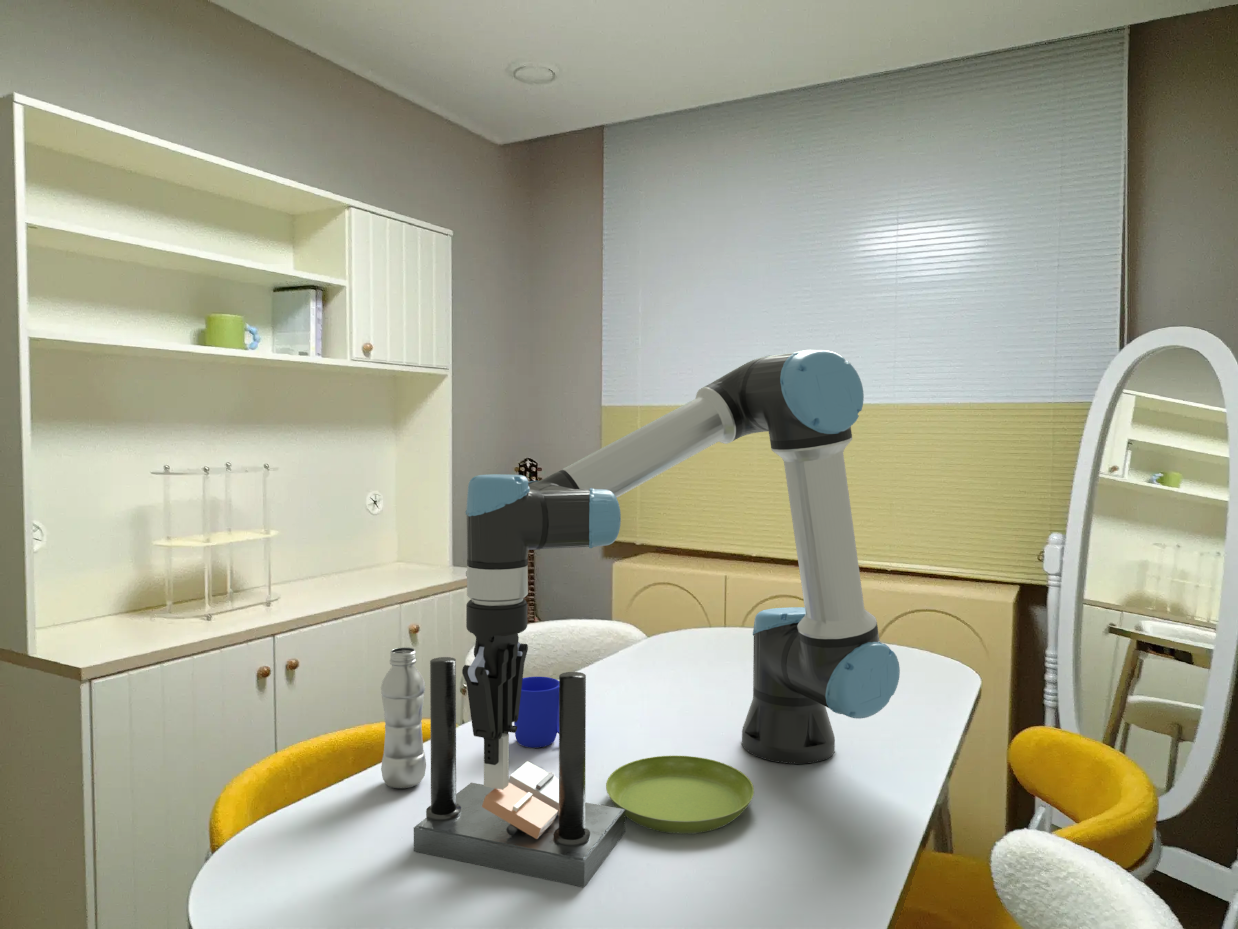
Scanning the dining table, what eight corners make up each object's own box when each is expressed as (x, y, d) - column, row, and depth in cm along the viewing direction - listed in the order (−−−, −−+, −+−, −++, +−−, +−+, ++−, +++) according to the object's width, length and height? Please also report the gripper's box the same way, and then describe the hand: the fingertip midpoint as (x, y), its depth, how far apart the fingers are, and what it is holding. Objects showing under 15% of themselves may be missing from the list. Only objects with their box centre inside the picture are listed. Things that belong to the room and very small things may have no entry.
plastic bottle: (386, 797, 118) (385, 659, 117) (377, 779, 124) (376, 647, 123) (431, 789, 121) (430, 653, 120) (420, 771, 127) (419, 642, 126)
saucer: (609, 774, 127) (609, 754, 127) (744, 777, 126) (744, 756, 126) (602, 842, 106) (602, 818, 106) (763, 845, 106) (764, 821, 105)
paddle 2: (554, 821, 104) (559, 807, 104) (536, 839, 99) (542, 825, 99) (501, 790, 106) (505, 776, 106) (481, 807, 102) (486, 792, 101)
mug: (575, 756, 133) (575, 694, 133) (504, 749, 136) (504, 689, 135) (587, 737, 141) (588, 679, 141) (520, 731, 144) (520, 675, 143)
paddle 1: (574, 799, 110) (579, 786, 110) (559, 815, 105) (564, 802, 105) (523, 770, 113) (528, 757, 112) (506, 785, 108) (511, 772, 108)
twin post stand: (625, 831, 108) (626, 658, 107) (584, 887, 95) (585, 690, 94) (466, 802, 116) (466, 641, 115) (408, 850, 103) (407, 668, 102)
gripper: (495, 587, 110) (494, 761, 111) (442, 606, 98) (442, 802, 99) (546, 591, 108) (545, 770, 109) (498, 612, 95) (497, 813, 96)
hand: (496, 785), depth 104 cm, fingers closed
